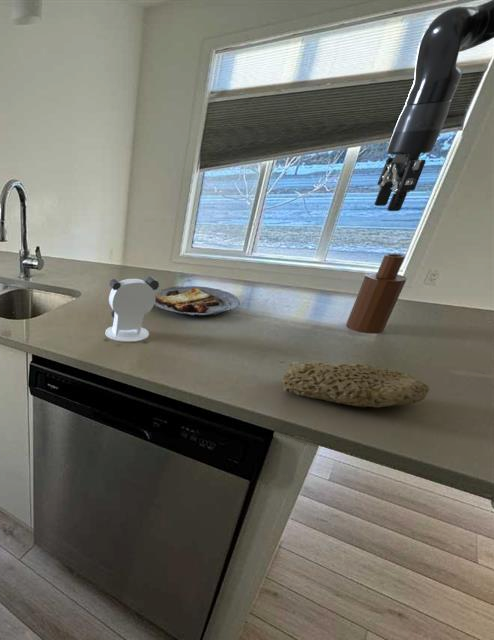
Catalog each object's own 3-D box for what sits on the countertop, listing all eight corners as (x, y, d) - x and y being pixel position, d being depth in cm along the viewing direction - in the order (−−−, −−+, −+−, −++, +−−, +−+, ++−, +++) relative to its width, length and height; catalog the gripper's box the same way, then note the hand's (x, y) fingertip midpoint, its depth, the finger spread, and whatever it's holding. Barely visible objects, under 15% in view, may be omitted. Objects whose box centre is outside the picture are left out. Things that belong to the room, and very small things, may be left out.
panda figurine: (143, 324, 115) (150, 272, 108) (157, 340, 105) (165, 284, 98) (101, 327, 116) (104, 275, 108) (111, 343, 106) (116, 288, 98)
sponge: (278, 404, 79) (428, 422, 65) (281, 366, 77) (436, 375, 63) (291, 388, 88) (426, 400, 74) (294, 353, 86) (433, 358, 72)
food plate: (179, 325, 112) (182, 313, 111) (133, 300, 132) (134, 290, 130) (255, 311, 117) (259, 299, 115) (200, 289, 136) (202, 279, 135)
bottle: (378, 323, 103) (409, 252, 94) (387, 334, 98) (422, 259, 89) (342, 321, 106) (370, 251, 97) (350, 331, 101) (379, 258, 92)
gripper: (457, 126, 81) (419, 212, 89) (426, 126, 92) (395, 203, 100) (408, 130, 84) (376, 213, 92) (383, 130, 95) (357, 204, 103)
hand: (386, 208), depth 96 cm, fingers open, 8 cm apart
